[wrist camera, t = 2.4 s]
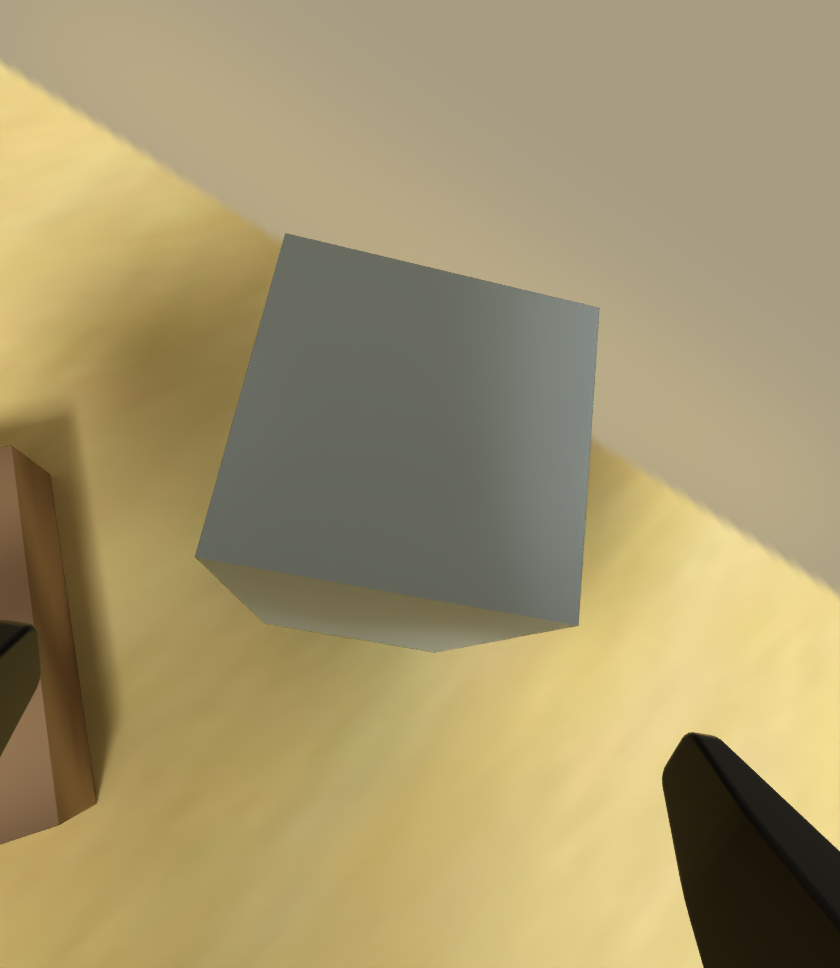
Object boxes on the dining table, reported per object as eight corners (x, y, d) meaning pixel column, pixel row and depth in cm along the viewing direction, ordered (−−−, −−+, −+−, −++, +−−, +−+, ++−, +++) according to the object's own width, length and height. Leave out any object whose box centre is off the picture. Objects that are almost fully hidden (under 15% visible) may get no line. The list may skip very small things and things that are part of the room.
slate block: (434, 652, 20) (578, 626, 9) (265, 623, 19) (195, 556, 8) (456, 493, 21) (600, 307, 11) (302, 463, 21) (285, 232, 10)
